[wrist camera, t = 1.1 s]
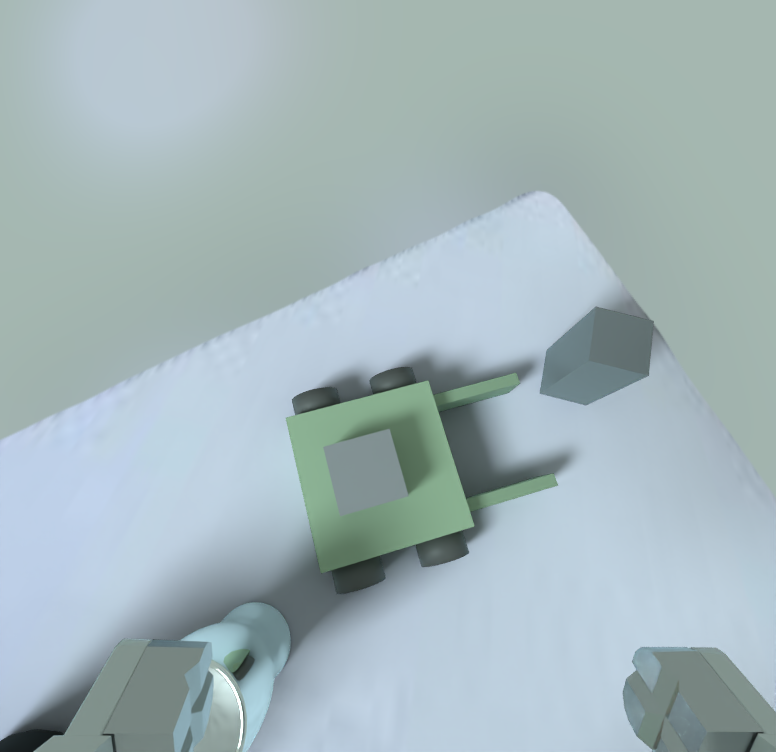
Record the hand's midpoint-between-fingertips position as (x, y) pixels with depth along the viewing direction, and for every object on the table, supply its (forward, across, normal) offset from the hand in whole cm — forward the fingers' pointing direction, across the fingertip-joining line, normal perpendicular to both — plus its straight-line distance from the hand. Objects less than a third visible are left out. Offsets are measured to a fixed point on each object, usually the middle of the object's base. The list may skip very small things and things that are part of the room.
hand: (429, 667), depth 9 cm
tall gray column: (+34, +19, -4) cm, 39 cm away
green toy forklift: (+30, +5, -12) cm, 32 cm away
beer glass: (+22, -8, -25) cm, 34 cm away
